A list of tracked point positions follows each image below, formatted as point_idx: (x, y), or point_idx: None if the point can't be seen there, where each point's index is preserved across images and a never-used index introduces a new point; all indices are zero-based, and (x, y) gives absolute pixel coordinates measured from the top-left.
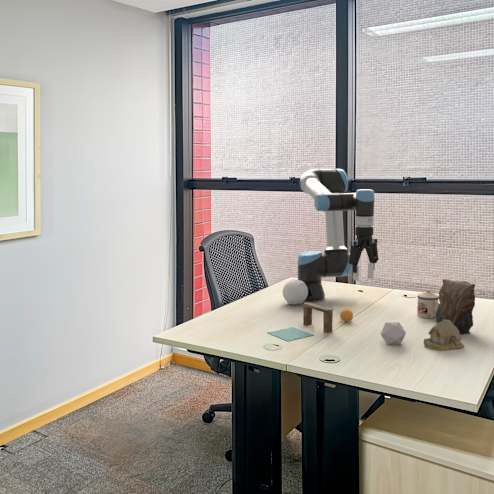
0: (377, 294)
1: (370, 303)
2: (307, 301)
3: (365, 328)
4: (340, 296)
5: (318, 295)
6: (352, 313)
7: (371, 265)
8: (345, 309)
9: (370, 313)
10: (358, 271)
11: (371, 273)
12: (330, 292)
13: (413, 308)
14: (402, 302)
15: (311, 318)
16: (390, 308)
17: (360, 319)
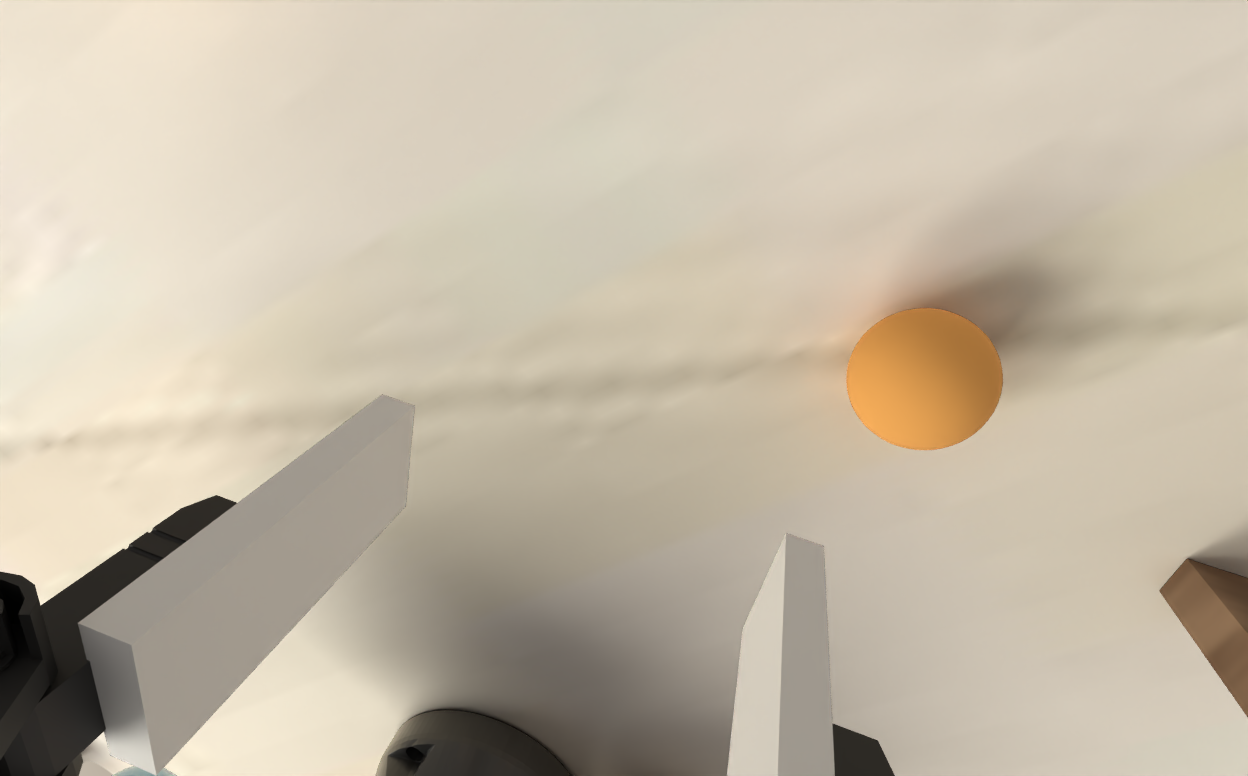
0: (72, 489)
1: (275, 434)
2: (567, 773)
3: (1070, 59)
4: (302, 655)
5: (487, 762)
6: (912, 329)
7: (200, 623)
8: (950, 415)
9: (510, 303)
10: (809, 718)
11: (352, 480)
12: (281, 726)
13: (99, 65)
14: (56, 247)
15: (1228, 603)
16: (259, 238)
17: (750, 283)
